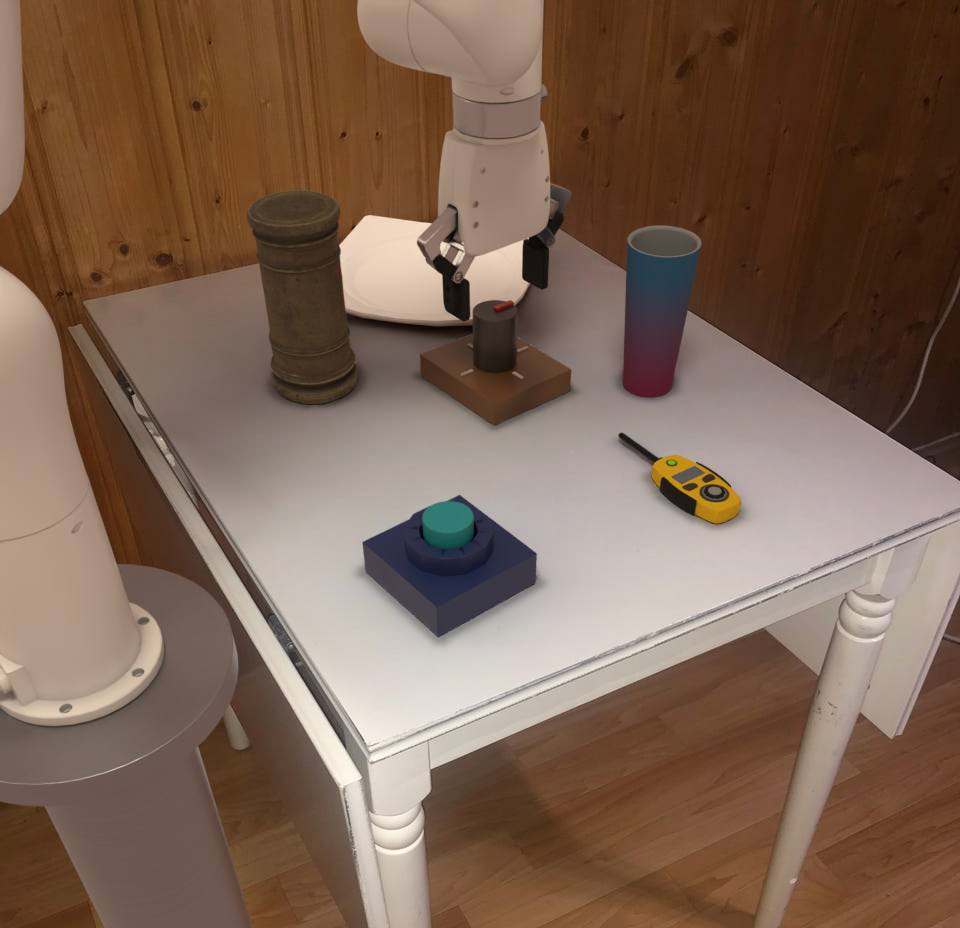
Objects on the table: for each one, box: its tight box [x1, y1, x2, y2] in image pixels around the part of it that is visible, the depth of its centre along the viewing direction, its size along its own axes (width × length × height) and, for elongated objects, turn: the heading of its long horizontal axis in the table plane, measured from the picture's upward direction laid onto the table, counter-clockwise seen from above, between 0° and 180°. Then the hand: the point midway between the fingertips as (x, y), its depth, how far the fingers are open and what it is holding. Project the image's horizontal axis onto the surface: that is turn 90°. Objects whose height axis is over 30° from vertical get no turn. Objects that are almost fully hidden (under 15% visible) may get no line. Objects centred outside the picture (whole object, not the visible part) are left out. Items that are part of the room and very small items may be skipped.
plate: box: [339, 214, 531, 327], centre depth 123 cm, size 24×24×3 cm
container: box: [246, 189, 359, 405], centre depth 102 cm, size 9×9×18 cm
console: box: [419, 332, 572, 426], centre depth 107 cm, size 10×12×3 cm
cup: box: [622, 224, 702, 398], centre depth 102 cm, size 7×7×15 cm
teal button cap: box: [422, 500, 474, 549], centre depth 83 cm, size 4×4×2 cm
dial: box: [472, 300, 519, 372], centre depth 104 cm, size 4×4×6 cm
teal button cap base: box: [362, 494, 538, 638], centre depth 85 cm, size 10×10×5 cm
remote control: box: [618, 432, 742, 524], centre depth 95 cm, size 5×2×15 cm
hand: (496, 299), depth 102 cm, fingers open, 9 cm apart
